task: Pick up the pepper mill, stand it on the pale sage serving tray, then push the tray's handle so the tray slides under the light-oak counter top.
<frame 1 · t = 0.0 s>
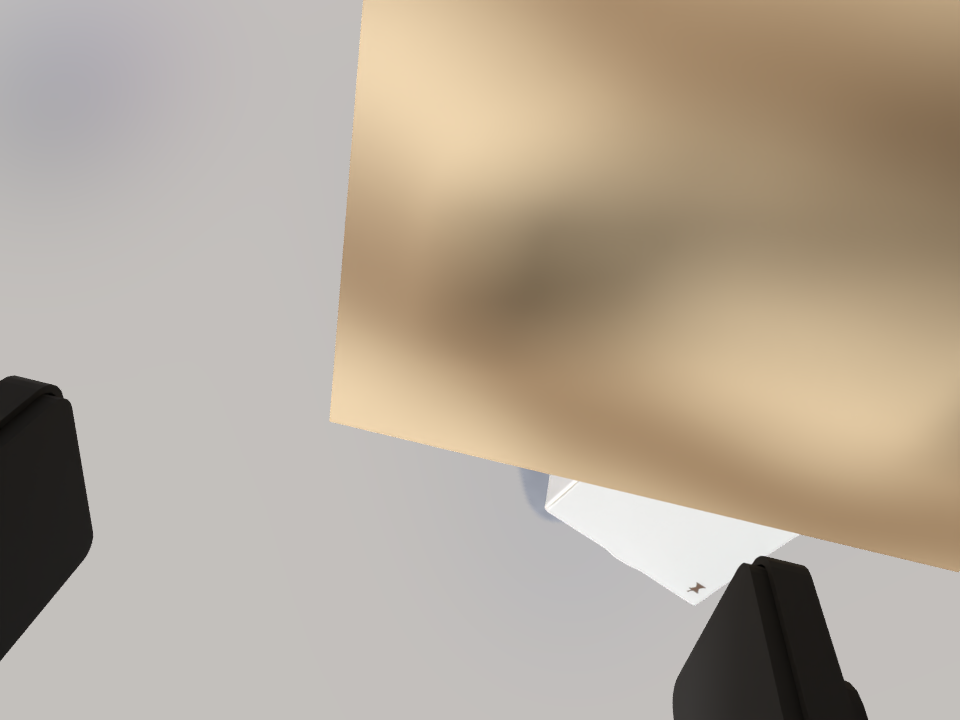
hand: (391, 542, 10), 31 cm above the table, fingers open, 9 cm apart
supplement box: (665, 335, 43), on the table
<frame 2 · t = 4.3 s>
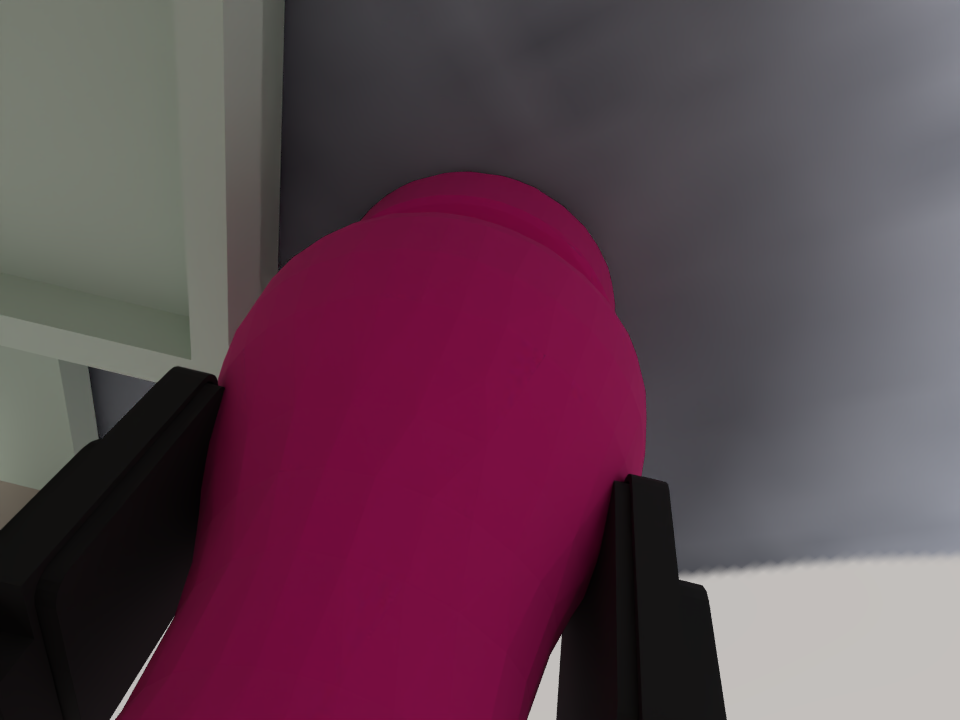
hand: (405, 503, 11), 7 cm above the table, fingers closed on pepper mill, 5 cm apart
pepper mill: (475, 301, 16), on the table, touching gripper
when the fingers open (9 cm above the table, at t = 9.3 s): pepper mill stays where it is, resting on tray.
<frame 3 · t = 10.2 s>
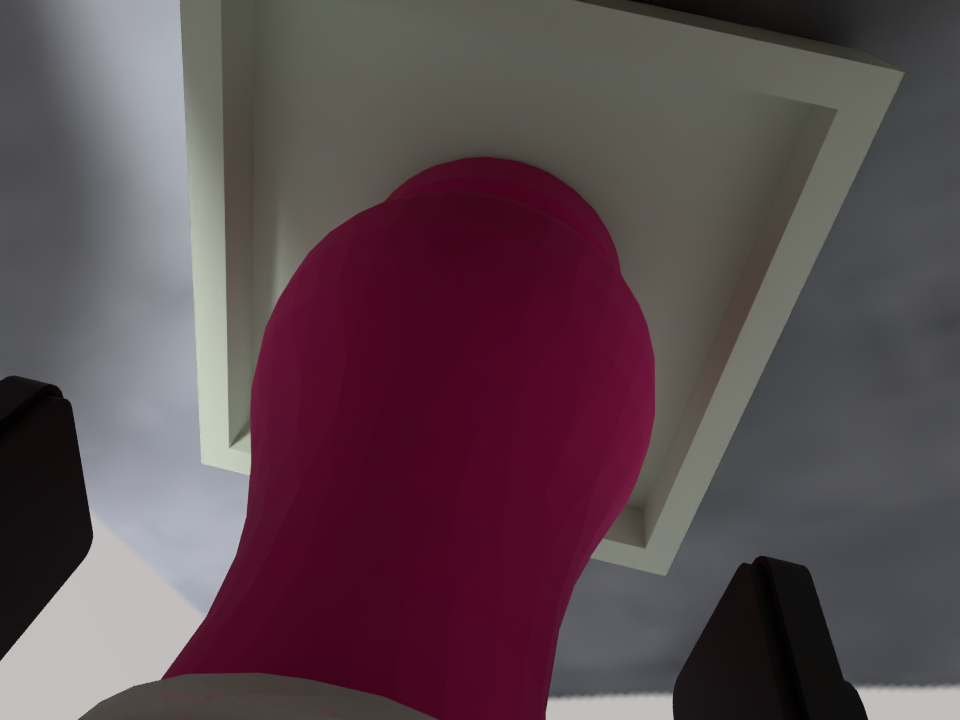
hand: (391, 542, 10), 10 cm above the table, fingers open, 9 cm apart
pepper mill: (489, 281, 17), point 1 cm above the table, touching tray
tray: (446, 437, 18), point 3 cm above the table, slide at 11.5 cm, touching pepper mill
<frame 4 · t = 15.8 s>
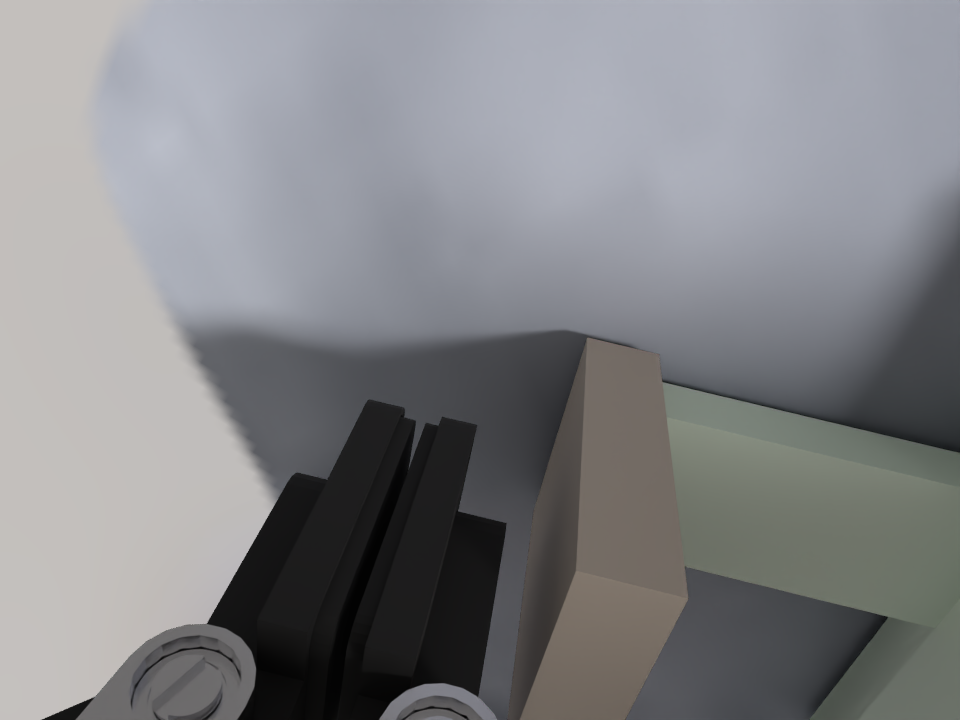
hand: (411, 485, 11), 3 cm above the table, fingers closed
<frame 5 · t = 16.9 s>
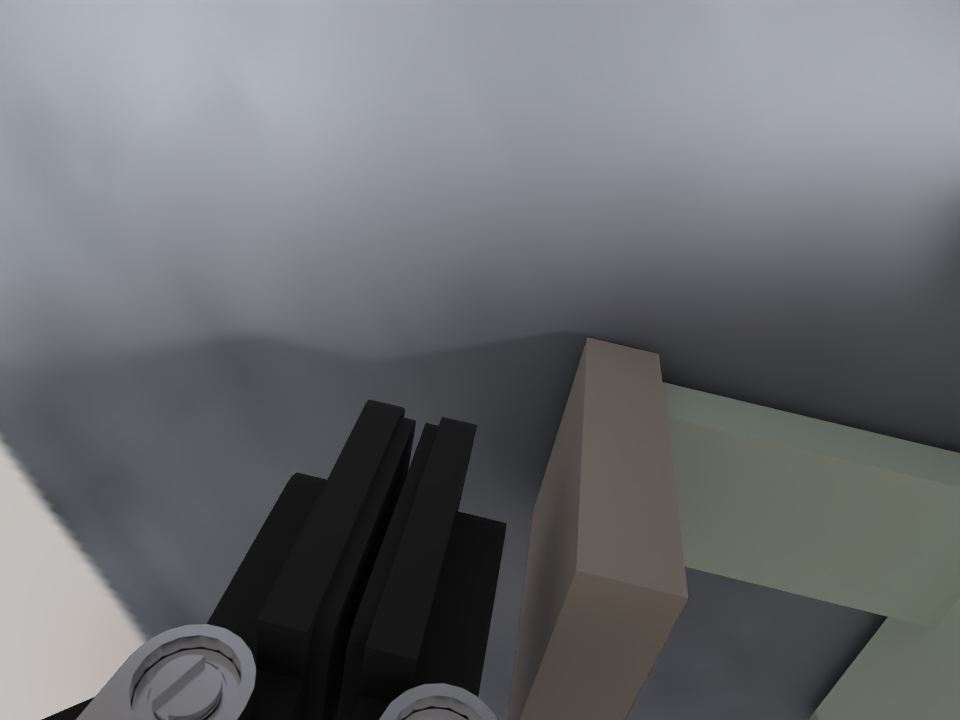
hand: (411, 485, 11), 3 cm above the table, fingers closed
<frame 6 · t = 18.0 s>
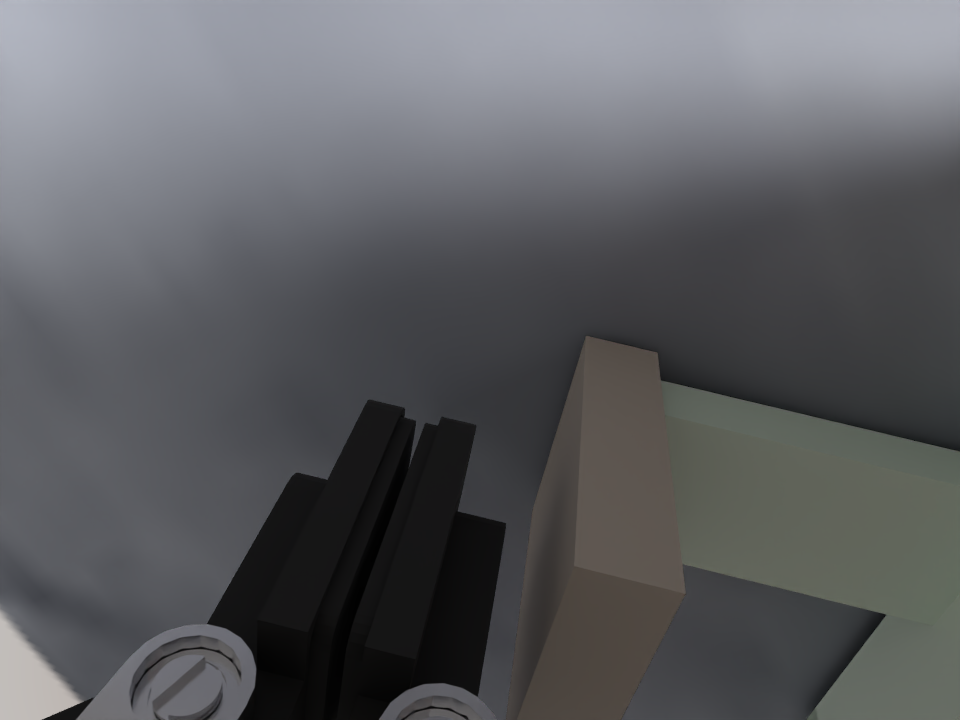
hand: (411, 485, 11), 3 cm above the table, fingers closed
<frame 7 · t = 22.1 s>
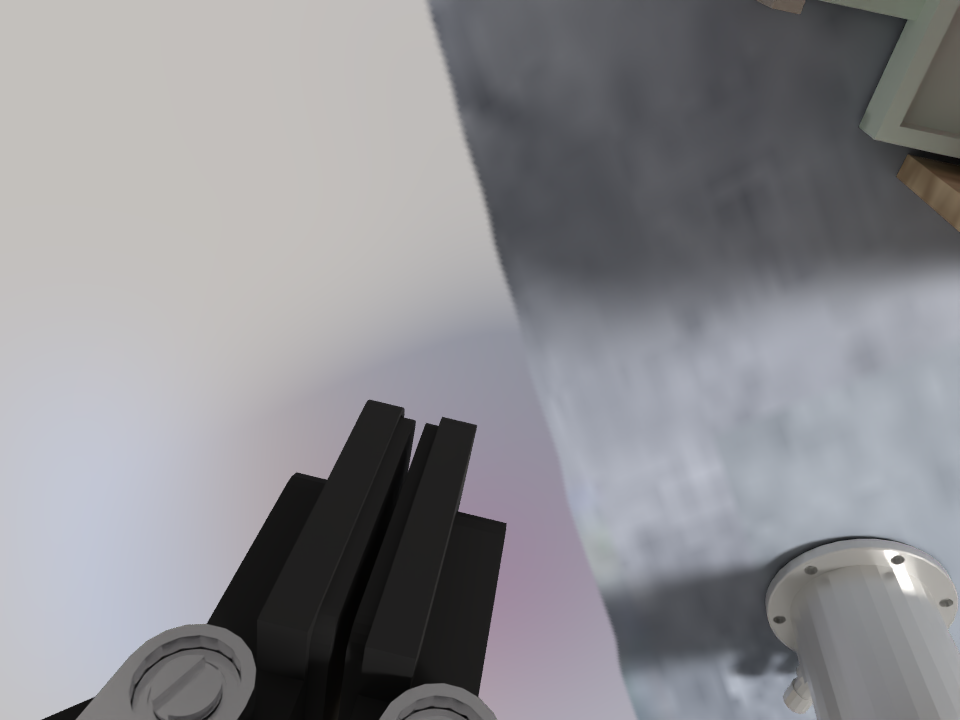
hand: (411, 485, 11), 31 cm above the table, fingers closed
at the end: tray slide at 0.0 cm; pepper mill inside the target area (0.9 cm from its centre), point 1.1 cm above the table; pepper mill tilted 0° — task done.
